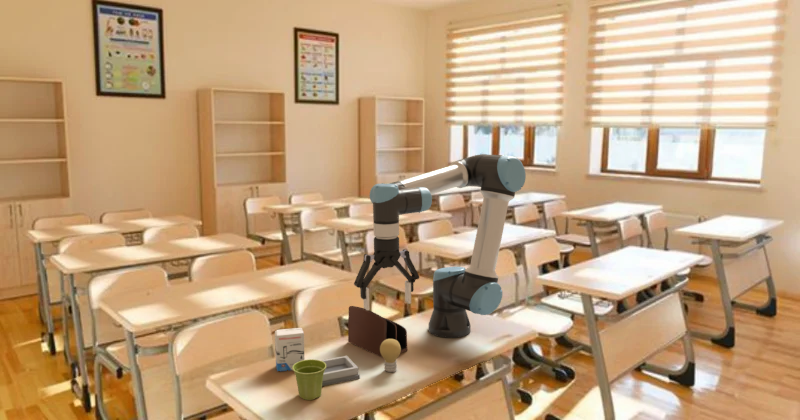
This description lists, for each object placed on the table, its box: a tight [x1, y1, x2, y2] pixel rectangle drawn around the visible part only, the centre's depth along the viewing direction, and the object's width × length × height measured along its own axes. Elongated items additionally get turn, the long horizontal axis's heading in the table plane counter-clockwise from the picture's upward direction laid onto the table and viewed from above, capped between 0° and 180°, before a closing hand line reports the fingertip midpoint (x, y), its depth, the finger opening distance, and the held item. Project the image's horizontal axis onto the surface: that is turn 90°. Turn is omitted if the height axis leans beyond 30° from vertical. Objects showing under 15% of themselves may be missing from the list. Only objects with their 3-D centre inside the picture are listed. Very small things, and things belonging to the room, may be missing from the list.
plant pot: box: [292, 358, 326, 401], centre depth 168 cm, size 9×9×9 cm
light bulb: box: [380, 339, 401, 373], centre depth 183 cm, size 6×6×10 cm
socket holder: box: [320, 355, 361, 387], centre depth 181 cm, size 13×12×3 cm
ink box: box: [274, 327, 305, 372], centre depth 187 cm, size 9×5×12 cm, turn 105°
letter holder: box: [347, 305, 408, 359], centre depth 203 cm, size 10×20×14 cm, turn 42°
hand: (387, 305), depth 181 cm, fingers open, 13 cm apart
